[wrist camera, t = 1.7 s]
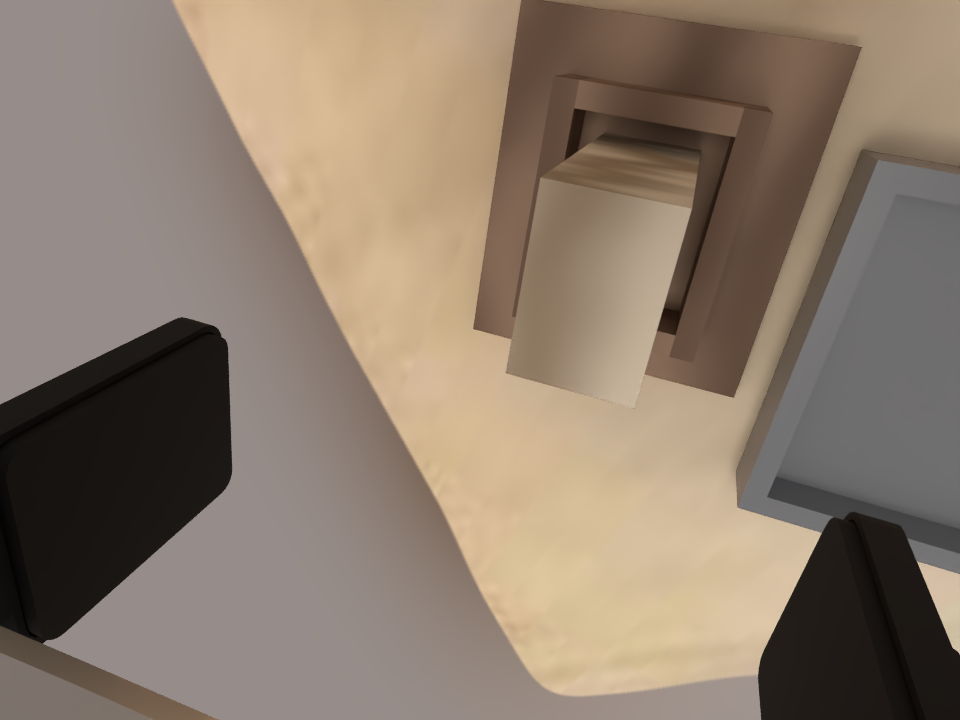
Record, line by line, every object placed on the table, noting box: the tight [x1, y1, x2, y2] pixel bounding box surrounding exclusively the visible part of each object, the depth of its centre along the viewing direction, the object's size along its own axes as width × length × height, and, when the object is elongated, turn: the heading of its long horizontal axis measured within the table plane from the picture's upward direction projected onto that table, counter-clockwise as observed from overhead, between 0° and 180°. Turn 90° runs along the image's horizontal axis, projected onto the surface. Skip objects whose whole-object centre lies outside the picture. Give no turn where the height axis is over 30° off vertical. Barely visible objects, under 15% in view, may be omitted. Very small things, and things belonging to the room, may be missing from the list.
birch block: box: [506, 132, 701, 409], centre depth 24 cm, size 4×6×12 cm, turn 172°
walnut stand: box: [473, 0, 862, 398], centre depth 28 cm, size 13×15×4 cm
